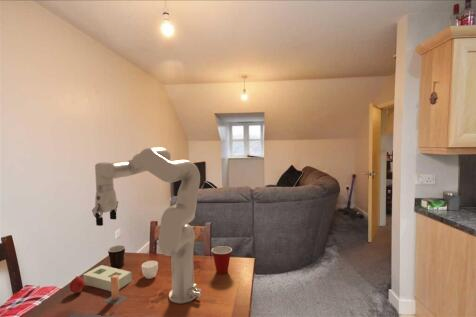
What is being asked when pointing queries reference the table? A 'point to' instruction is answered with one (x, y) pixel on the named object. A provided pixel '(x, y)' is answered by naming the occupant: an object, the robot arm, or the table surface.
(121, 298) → the mat
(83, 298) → the table surface
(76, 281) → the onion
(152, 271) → the cup
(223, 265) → the plastic cup
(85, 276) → the socket block
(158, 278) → the table surface
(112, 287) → the peg
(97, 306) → the table surface
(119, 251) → the coffee mug
